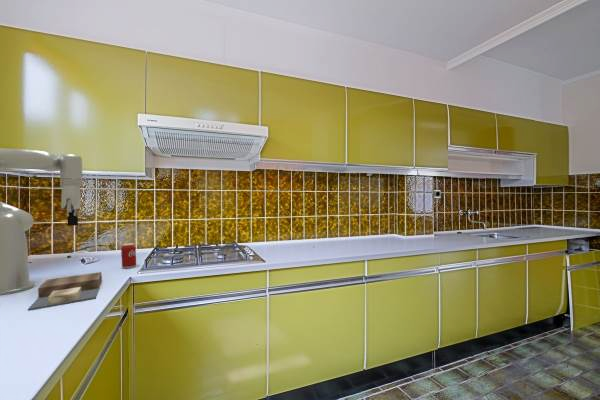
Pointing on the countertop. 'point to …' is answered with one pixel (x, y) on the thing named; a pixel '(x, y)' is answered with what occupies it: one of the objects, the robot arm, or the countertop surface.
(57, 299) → the beech tile
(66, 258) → the countertop surface
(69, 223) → the robot arm
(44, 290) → the walnut deck
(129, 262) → the beverage can
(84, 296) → the rubber mat
